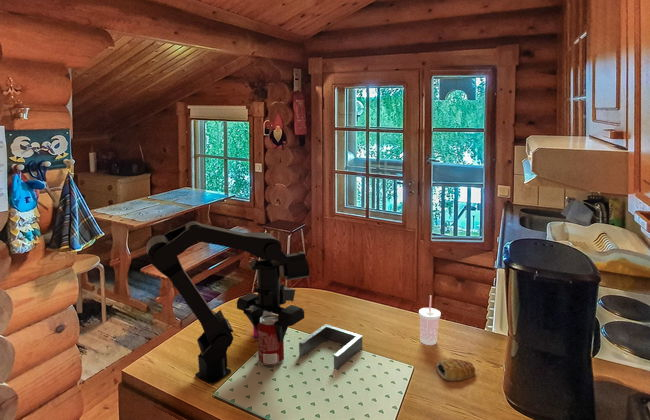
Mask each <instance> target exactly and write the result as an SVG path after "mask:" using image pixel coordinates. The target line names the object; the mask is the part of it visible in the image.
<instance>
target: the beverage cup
mask: <svg viewBox="0 0 650 420" xmlns="http://www.w3.org/2000/svg"><path fill="white" fill-rule="evenodd" d="M428 305H429V307H422V308H420V309H419V310H418V315H419V335H420V336H419V339H420V340H419V341H420V343H421V344H423V345H426V346H433V345H436V344H437V340H438V331H439V324H440V318H441V316H442V315H441V314H442V313H441V311H440V309H439V310H438V309H437V308H433V307H432V295H429V304H428Z"/></svg>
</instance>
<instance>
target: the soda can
mask: <svg viewBox="0 0 650 420" xmlns="http://www.w3.org/2000/svg"><path fill="white" fill-rule="evenodd" d="M276 321H278V314H276V315H272V314H270V315H265V316H262V317H261V318H260V319H259V323H258V325H257V335H258V338H257V351H258V352H257V354H258V361H259V363H260V364H262V365H264V366H271V367H272V366H276V365H279V364H280V363H282V362H283V361H284V359H285V349H284V346H285V345H284V341H285V339H283V341H282V342H281V343H279V341H278V338H277V333H276V328H275V324H274V322H276Z"/></svg>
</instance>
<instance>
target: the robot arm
mask: <svg viewBox="0 0 650 420" xmlns="http://www.w3.org/2000/svg"><path fill="white" fill-rule="evenodd" d="M197 242H199V243H200V242H201V243H204V244H211V245H215V246H220V247H224V248H229V249H230V248H231V249H235V250H240V251H244V252H247V253H249V254H250V255H252V256H255V257H254V258H253V260H250V262H249V263H248V267H249V268H250V270H252V271H256V276H257V277H256V280H257V286H255V287H254V288H253V289H254V292H248V293H246V294H244V295H242V296H239V297H238V298H237V300H236V309H237V310H240V311H243V314H244V315H245V316H246V317H247V318H248V320H249V322H250V323H251V324H252V326H254V327H253V329H254V328H255V329H256V331H257V325H258V323H259V319H260V318H261V317H262V316H263V312H264V311H267V312H270V313H274V314H276V315H277V316H278V321H276V322H274V324H275V328H276V333H277V338H278V341H279V343H281V342H282V341H283V339H284V338H285V335H286V334H287V331H288V327H293V326H294V325H296V324H297V323H298V322H300V321H302V320H304V319H305V310H304V308H302V307H300V306H297V305H293V304H290V305H289V306H287V307H282V306H281V305H286V304H287V301H289V302H294V300H295V299H294V298H295V293H296V289H294V288H290V287H288V286H284V284H282V283H281V278H284V279H285V280H286V281H291V280H297V279H303V278H308V277H309V276H310V266H309V261H308V259H307V254H306V253H305V252H304V251H297V252H295V253H287V254H286V253H285V252H284V251H283V250H282V249H283V248H282V244H281V242H280V241H279V239H277V238H276V237H275V236H273V235H272V233H269V232H257V231H256V232H255V231H254V232H253V231H252V232H241V231H236V230H232V229H227V228H224V227H223V228H222V227H219V226H218V227H217V226H213V225H209V224H205V223H200V222H198V221H196V220H195V221H194V220H192V221H189V222H187V223H185V224H184V225H182V226H180V227H177V228H174V229H172V230H170V231H168V232H166V233H164V234H162V235H161V234H159V235H155V236H152V237H151V238H150V239H149V240H148V241H147V243H146V253H147V259H148V261H149V263H150V264H151V265H152V266H153V267H154V268H155V269H156V270H157V271H159V273H161V274H162V275H164V276H165V277H166V278H167V279H169V280H170V282H171V283H172V285H173V286H174V288H175V289H176V291H177V292H178V293H179V295H180V296H181V297H182V299H183V301H185V304H186V305H187V306H188V307H189V309H190V310H191V311H192V313H193V315H194V316H195V317H196V319H197V320H198V321H199V323H200V325H201V328H202V330H203V332H202V333H201V335H200V336H199V337H198V338H197V339H196V341H197V344H198V345H197V346H198V348H199V351H200V352H199V354H198V355H197V361H198V372H196V373H195V377H196V378H198V379H200V380H202V381H204V382H206V383H208V384H211V385H214V384H215V383H217V382H218V381H220V380H222V379H223V378H225V377H226V376H228V375H229V374H230V373H231V374H232V370H231V369H230V368H228V355H227V354H228V353H227V352H228V348H230V347H231V346H232V344H233V341H234V335H233V333H234V330H233V327H232V326H231V323H230V321H229V319H227V318H226V317H225V315H224V314H223V312H222V310H221V309H219V310H218V311H217V312H215V310H213V309H212V308H211V307H210V305H209V304H208V302H207V301H206V300H205V298H204V296H203V295H202V294H201V292H200V291H199V290H198V288H197V286H196V284H195V283H194V282H193V280H192V279H191V278H190V276H189V275H188V273H187V271H185V269H184V268H183V265H182V264H181V261H180V259H179V257H178V256H180V255H182V254H183V253H184V252H185V251H186V250H187V249H188V248H190V247H191V246H192V245H194V244H195V243H197ZM258 258H259V259H258ZM280 277H281V278H280ZM256 293H257V294H256ZM284 340H285V339H284Z"/></svg>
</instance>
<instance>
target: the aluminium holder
mask: <svg viewBox="0 0 650 420" xmlns="http://www.w3.org/2000/svg"><path fill="white" fill-rule="evenodd" d="M326 340H328V341H330V342H334V343H336V344H339V345H343V346H342V348H340V349H339V350H338V351H337V352H336V353H334V354H333V370H335V369H336V371H339V370H340V369H341V368H342V367H344V365H346V364H347V363H348V362H349V361H350V360H351V359H353V357H354V356H356V355H357V354H358V353H359V352H360V351H362V350H363V335H361V334H358V333H355V332H352V331H349V330H346V329H343V328H339V327H337V326H334V325H330V324H327V323H325V324H323V325H322V326H320V327H318V329H316V330H314V331H313V332H312V333H310V334H309V335H308V336H306V337H305V338H304V339H302V340H299V342H298V350H299V351H298V354H299V357H301V356H304V357H305V356H306V355H307V354H309V353H311V352H312V351H313V350H314V349H316V348H317V347H319V346H320V345H321V344H322V343H324V342H325V341H326ZM315 347H316V348H315ZM311 350H312V351H311Z"/></svg>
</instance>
